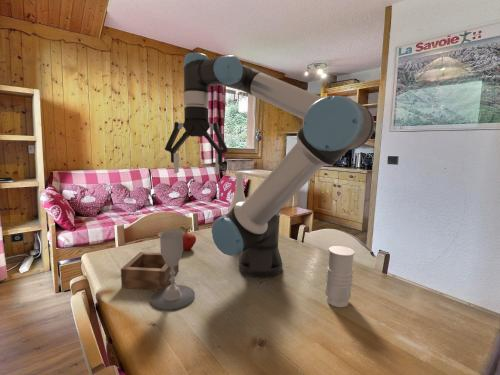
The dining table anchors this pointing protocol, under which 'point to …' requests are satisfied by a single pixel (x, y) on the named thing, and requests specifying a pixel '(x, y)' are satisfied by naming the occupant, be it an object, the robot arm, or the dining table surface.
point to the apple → (188, 240)
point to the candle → (339, 275)
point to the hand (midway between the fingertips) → (196, 173)
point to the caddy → (146, 272)
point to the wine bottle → (238, 190)
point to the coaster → (162, 304)
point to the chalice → (171, 258)
